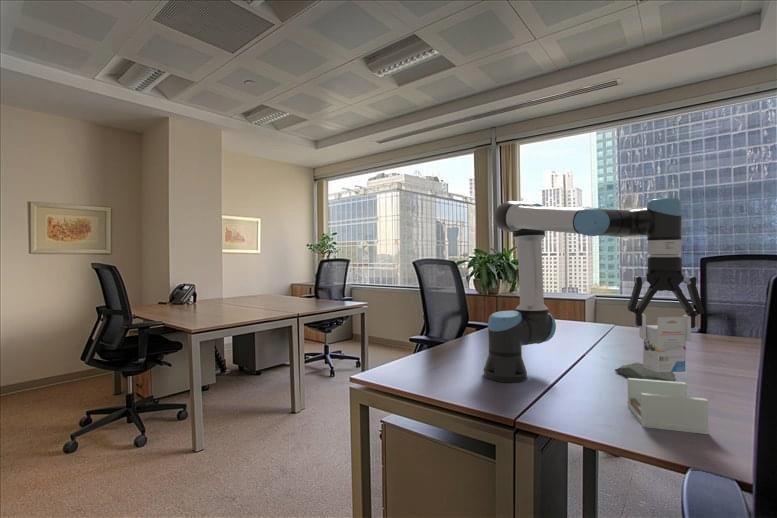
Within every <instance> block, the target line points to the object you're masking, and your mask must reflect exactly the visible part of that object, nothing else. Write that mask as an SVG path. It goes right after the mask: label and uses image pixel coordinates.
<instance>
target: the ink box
mask: <svg viewBox="0 0 777 518" xmlns="http://www.w3.org/2000/svg"><path fill="white" fill-rule="evenodd" d="M671 321H673V322H675V323H668V322H671ZM686 349H687V341H686V318H685V317H683V316H658V317H657V324H655V325H654V324H651V325H649V324H648V325H647V324H646V339H643V351H642V353H643V354H642V357H643V359H642V361H643V362H642V364H643V367H645V368H647V369H650V370H652V371H655V372H673V373H675V372H676V373H677V372H679V373H680V372H681V373H682V372H683V373H684V372H686V361H687V360H686V359H687V358H686V355H687V354H686V353H687V351H686Z"/></svg>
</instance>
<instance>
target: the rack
mask: <svg viewBox="0 0 777 518" xmlns="http://www.w3.org/2000/svg"><path fill="white" fill-rule="evenodd" d="M687 389H688V388H687V383H686V382H684V381H675V382H674V381H661V380H648V379H636V378H629V377H627V401H626V404H627V407H628V408H629V410H630V411H631V412H632V413H633V415H634V416H635V417H636V419H637V421H638V422H639V423H640V424H641V426H642V427H643V428H648V429H649V428H650V429H658V430H667V431H676V432H684V433H685V432H686V433H695V434H704V435H710V429H709V400H708V399H706V398H705V397H693V396H688V394H687V392H688V391H687Z"/></svg>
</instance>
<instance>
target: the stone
mask: <svg viewBox="0 0 777 518" xmlns="http://www.w3.org/2000/svg"><path fill="white" fill-rule="evenodd" d="M614 371H615V372H616V373H618V374H620V375H623V376H625V377H627V378H636V379H648V380H661V381H674V382H677V381H676V380H677V377H676V374H675V372H655V371H652V370H650V369H647V368H645V367H643V363H639V362H633V363H630V364H629V363H628V364H624V365H623V364H622V365H620V367H618V368H616V369H614Z"/></svg>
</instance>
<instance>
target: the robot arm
mask: <svg viewBox="0 0 777 518" xmlns="http://www.w3.org/2000/svg"><path fill="white" fill-rule="evenodd" d="M682 219H683V211H682V203H681V199H680V198H679V199H678V198H676V197H663V198H654V199H650V200H648V201H647V203H646V207H644V208H637V209H610V208H609V209H607V208H597V207H587V208H583V207H551V206H550V207H549V206H546V205H545V204H543V203H540V202H535V201H516V200H515V201H514V200H509V201H505V202H503V203H501V204H499V205H498V206H497V208H496V209H495V211H494V214H493V221H494V224H495V225H496V227H498V228H499V229H500V231H503V232H507V233H512V236H513V237H512V238H513V240H514V241H516V243H517V257H518V258H517V260H518V285H519V289H518V290H519V304H518V305H517V306H516V307H515V310H502V311H496V312H493V313H491V314H490V315H489V317H488V323H487V329H488V332H487V333H488V334H487V335H488V356H487V359H486V361H485V364H484V367H483V368H484V369H483V376H484V377H485V378H486V379H488V380H491V381H494V382H499V383H512V384H513V383H520V382H524V381H526V380H527V379H528V371H527V368H526V366H525V361H524V359H523V355H522V351H523V350H522V348H523V346H530V345H534V344H535V345H536V344H537V345H538V344H539V345H540V344H543V343H546V342H549V341H550V340H551V339H552V338H553V337H554V335H555V332H556V329H557V323H556V320H555V318H554V316H553V315H552V314H551V313H550V312H549V307H547V306H546V304H545V303H544V301H545V300H544V278H543V253H542V249H543V248H542V241H543V239H544V238H545V237H546V232H555V233H556V232H557V233H565V234H566V233H567V234H576V235H577V234H578V235H583V236H588V237H598V236H599V237H601V236H603V237H604V236H606V237H607V236H609V237H615V238H619V237H620V238H622V237H632V236H633V237H635V236H646V237H647V239H646V240H647V246H646V248H647V249H646V250H647V255H648V256H649V257H648V258H647V261H646V262H647V263H646V264H647V273H646V274H645V275H644V276H643V275H641V276H637V275H635V276H634V278H633V281H634V285H633V288H632V293H631V295H630V299H629V303H628V305H627V310H628V311H629V312H631V313H634V314H635V316H634V317H635V326H637V327H639V338H640V339H642V340H644V339H646V325H647V324H646V322H647V315H646V314H644V311H645V310H646V309H647V307H648V305H649V304H650V302H651V301H652V299H653V297H654V296H655V295H656V294H657V292H663V291H667V292H672V293H673V294H674V296H675V298H676V299H677V300H678V302H679V304H680V305H681V307H682V308H683V310H684V311H685V313H686V314H683V316H682V317H685V318H686V342H692V329H695V328H696V317H697V316H699V315H703V314H705V309H704V306H703V304H702V300H701V297H700V294H699V291H698V287H697V277H695V276H685V275H683V272H682V271H683V269H682V268H683V260H682V259H683V258H681V256H680V255H682V252H683V251H682V250H683V249H682V247H683V245H682V243H683V242H682V221H683V220H682ZM646 281H647V283H648V284H649V286H648V288H647V289H646V292H645V294H644V295H643V297H642V299H641V300H640V301H639V298H640V295H641V291H642V288H643V285H644V284H645V283H646ZM682 282H684V284H685V285H686V288H687V290H688V294H689V297H690V301H691V303H690V302H689V300H688V299H687V297H686V296H685V294H684V292H683V290H682V289H681V286H680V285H681V284H682ZM638 301H639V304H638ZM691 304H692V305H691Z"/></svg>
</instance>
